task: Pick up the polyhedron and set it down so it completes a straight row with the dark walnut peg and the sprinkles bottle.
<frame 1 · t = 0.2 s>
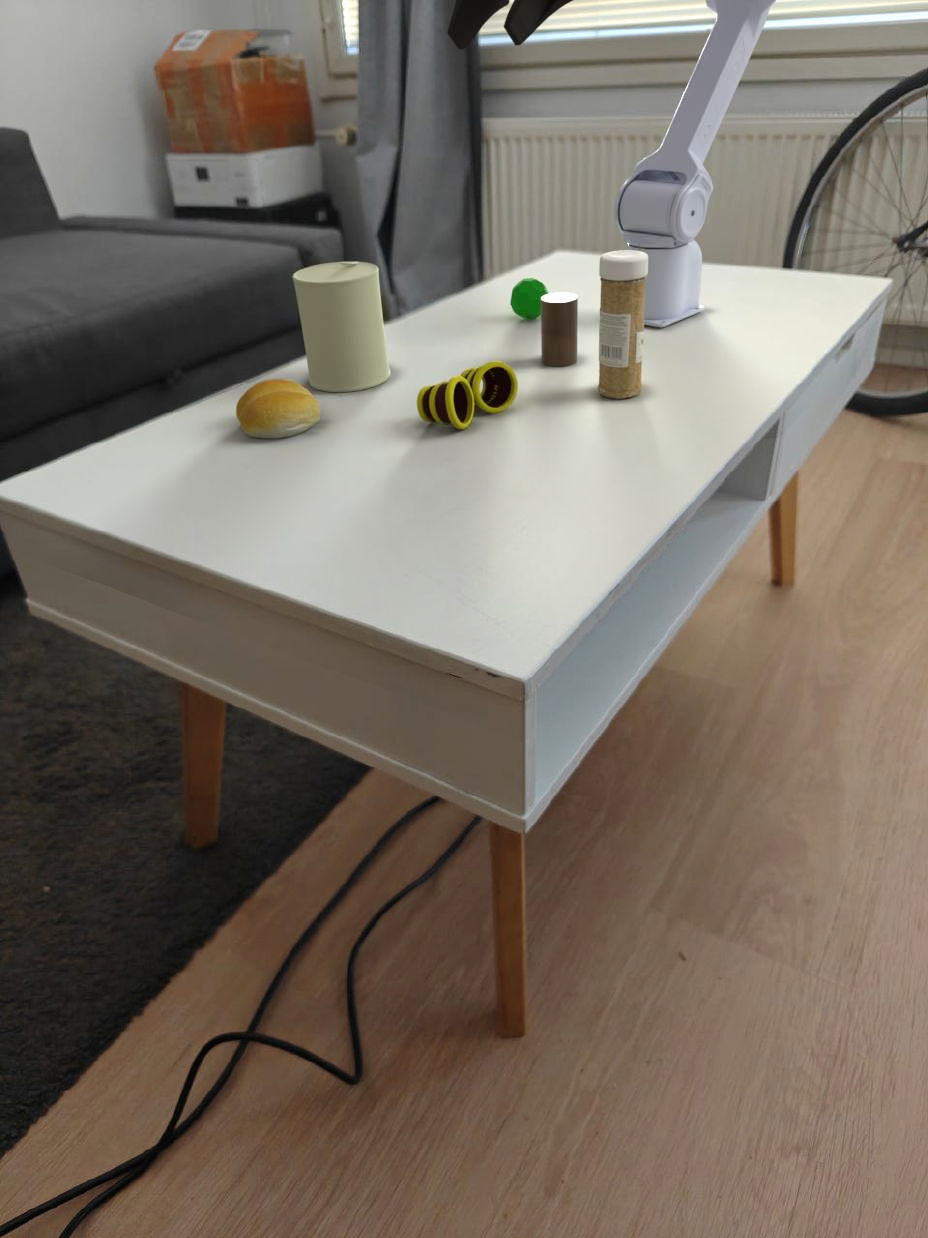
hand: (482, 38, 81), 31 cm above the table, tool tilted 45°, fingers open, 7 cm apart
bread roll: (279, 425, 90), on the table
can: (350, 379, 101), on the table
opera glasses: (467, 417, 89), on the table
walnut peg: (559, 360, 101), on the table
sprinkles bottle: (619, 393, 92), on the table
polyhedron: (530, 319, 116), on the table
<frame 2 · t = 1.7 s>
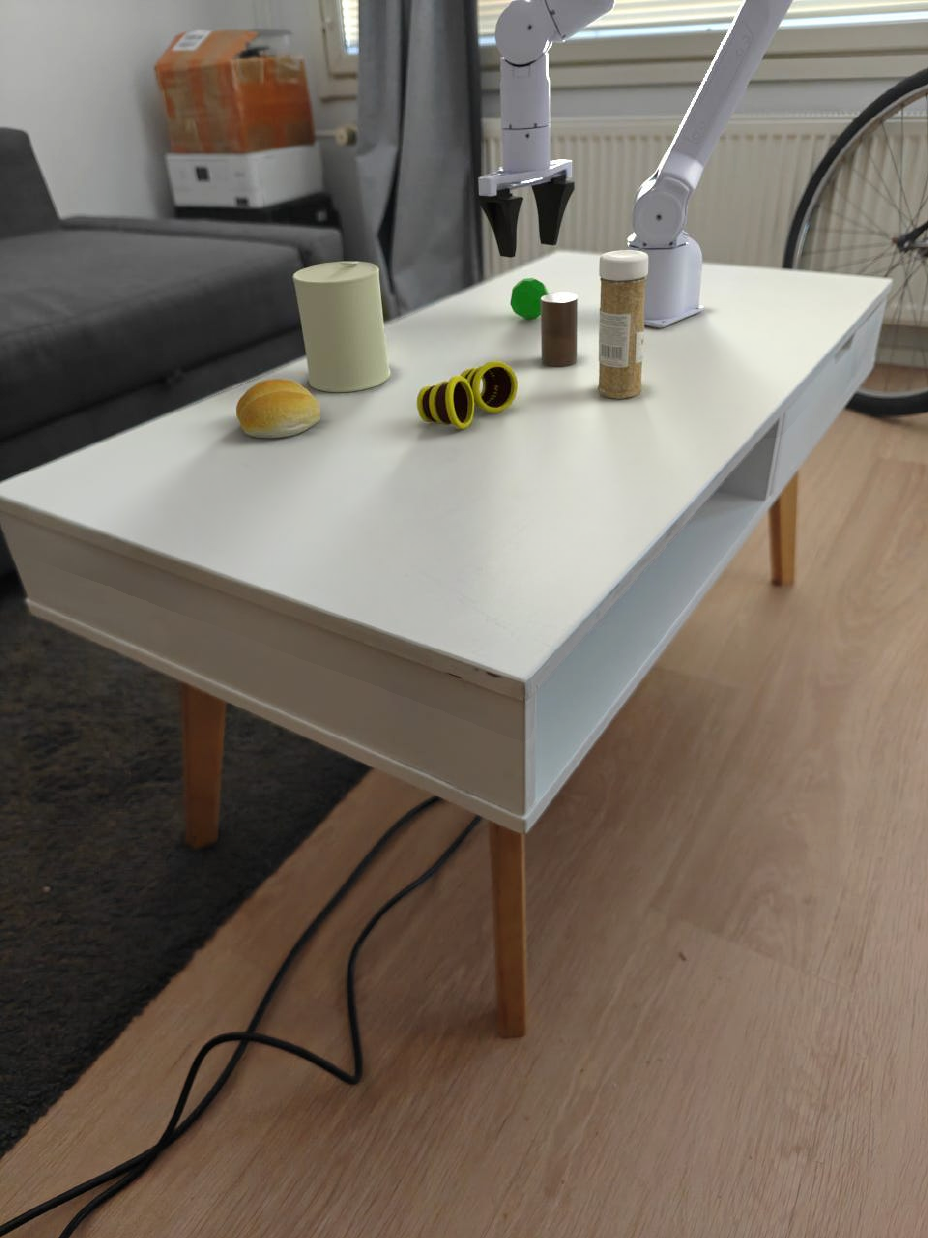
hand: (528, 250, 111), 8 cm above the table, tool pointing down, fingers open, 7 cm apart
nothing on the table moved.
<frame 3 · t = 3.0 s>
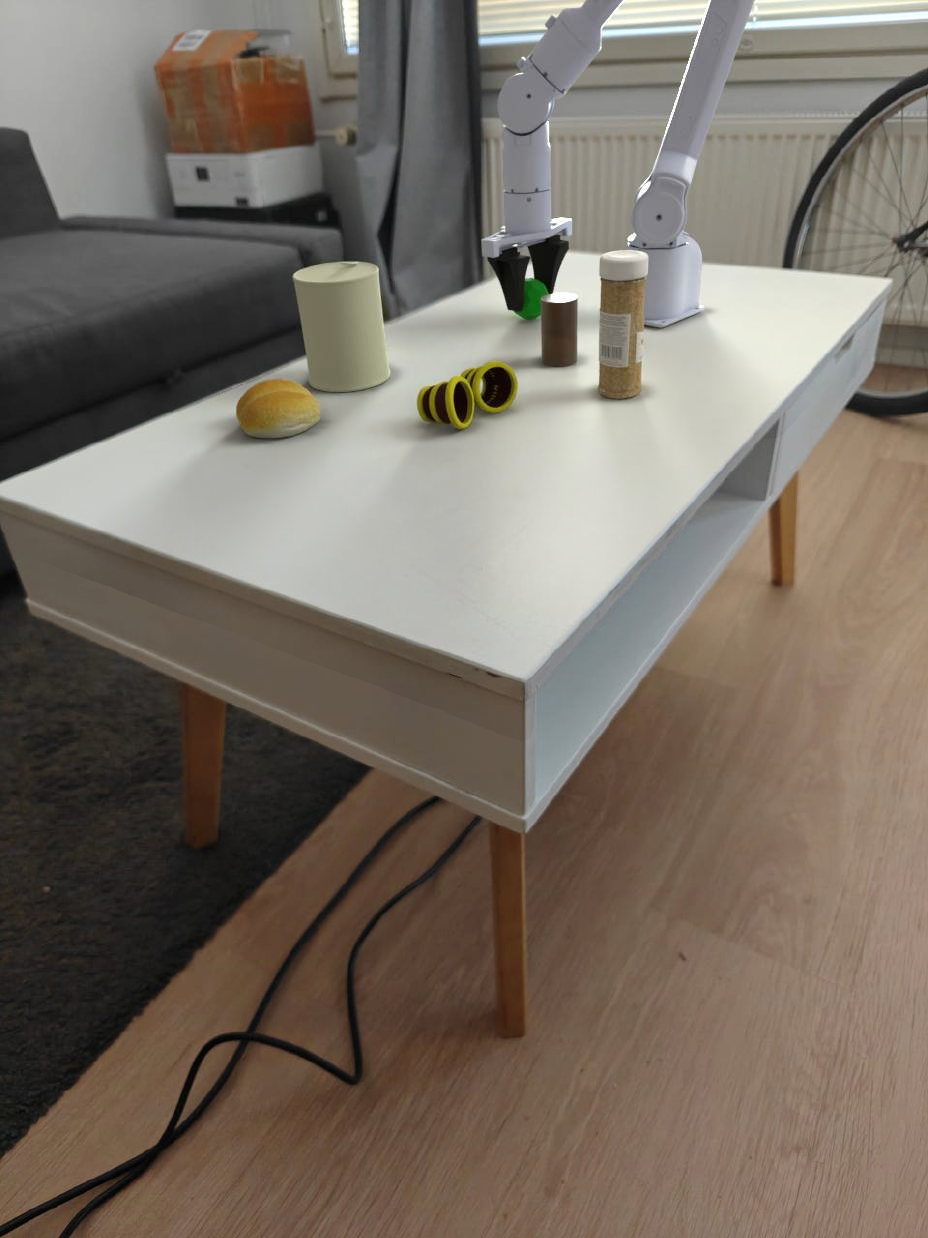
hand: (529, 305, 115), 2 cm above the table, tool pointing down, fingers closed on polyhedron, 5 cm apart
polyhedron: (529, 319, 116), on the table, touching gripper
everything else where it was.
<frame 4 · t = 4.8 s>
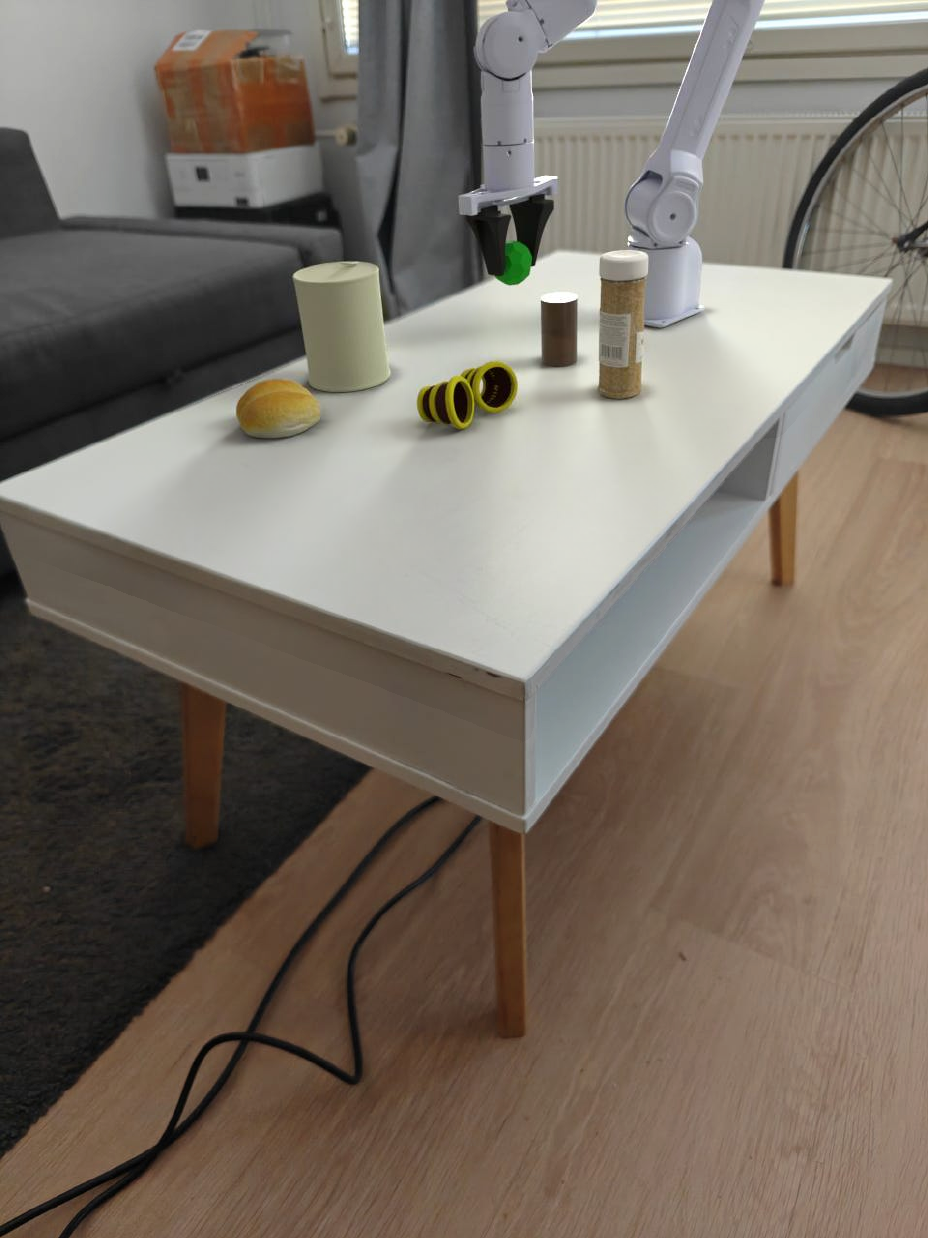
hand: (512, 269, 107), 7 cm above the table, tool pointing down, fingers closed on polyhedron, 5 cm apart
polyhedron: (512, 285, 108), point 6 cm above the table, touching gripper
everything else where it was.
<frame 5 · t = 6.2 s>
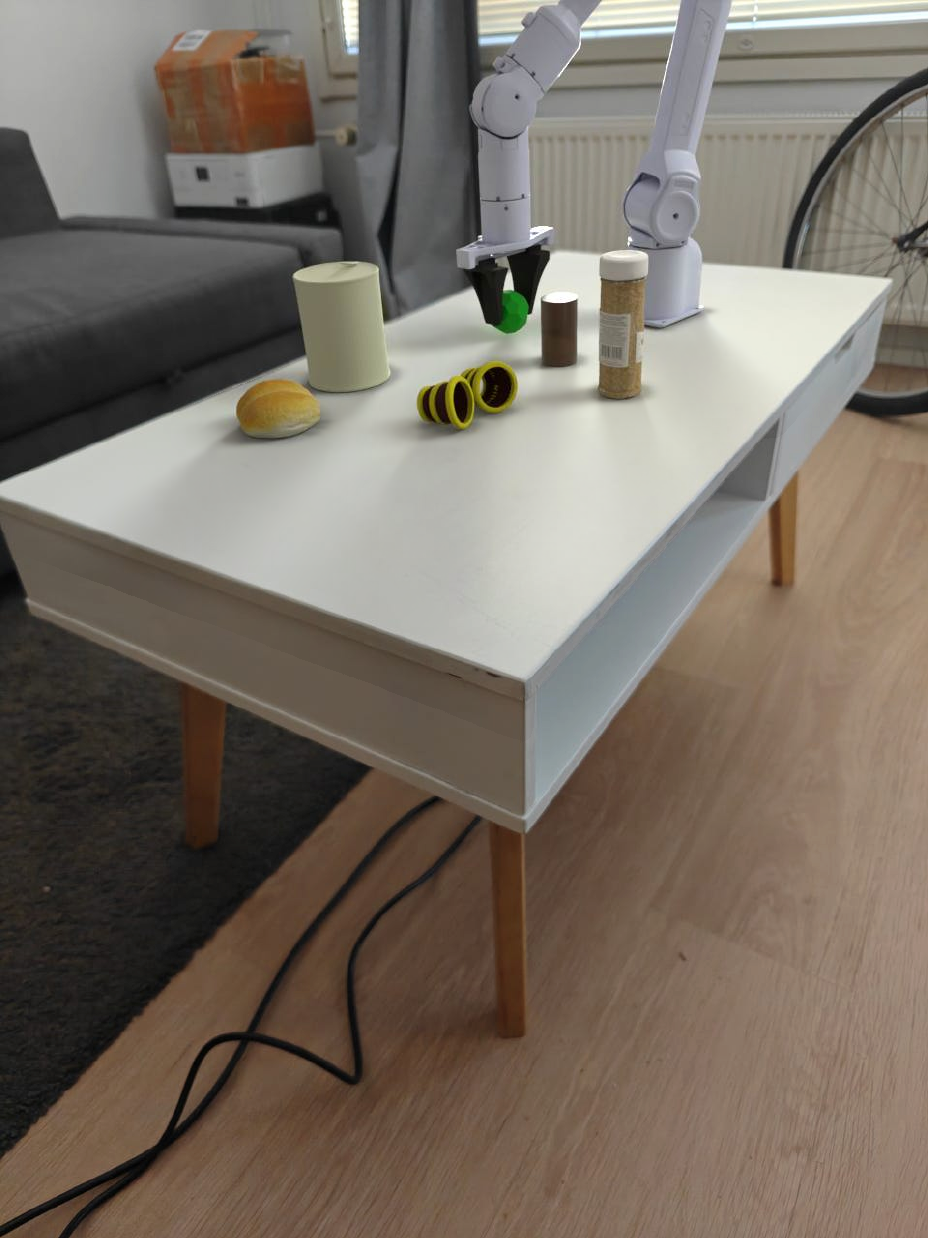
hand: (509, 318, 109), 2 cm above the table, tool pointing down, fingers closed on polyhedron, 5 cm apart
polyhedron: (509, 333, 110), on the table, touching gripper
everything else where it was.
when the fingers open (2 cm above the table, at t = 6.8 s): polyhedron stays where it is, on the table.
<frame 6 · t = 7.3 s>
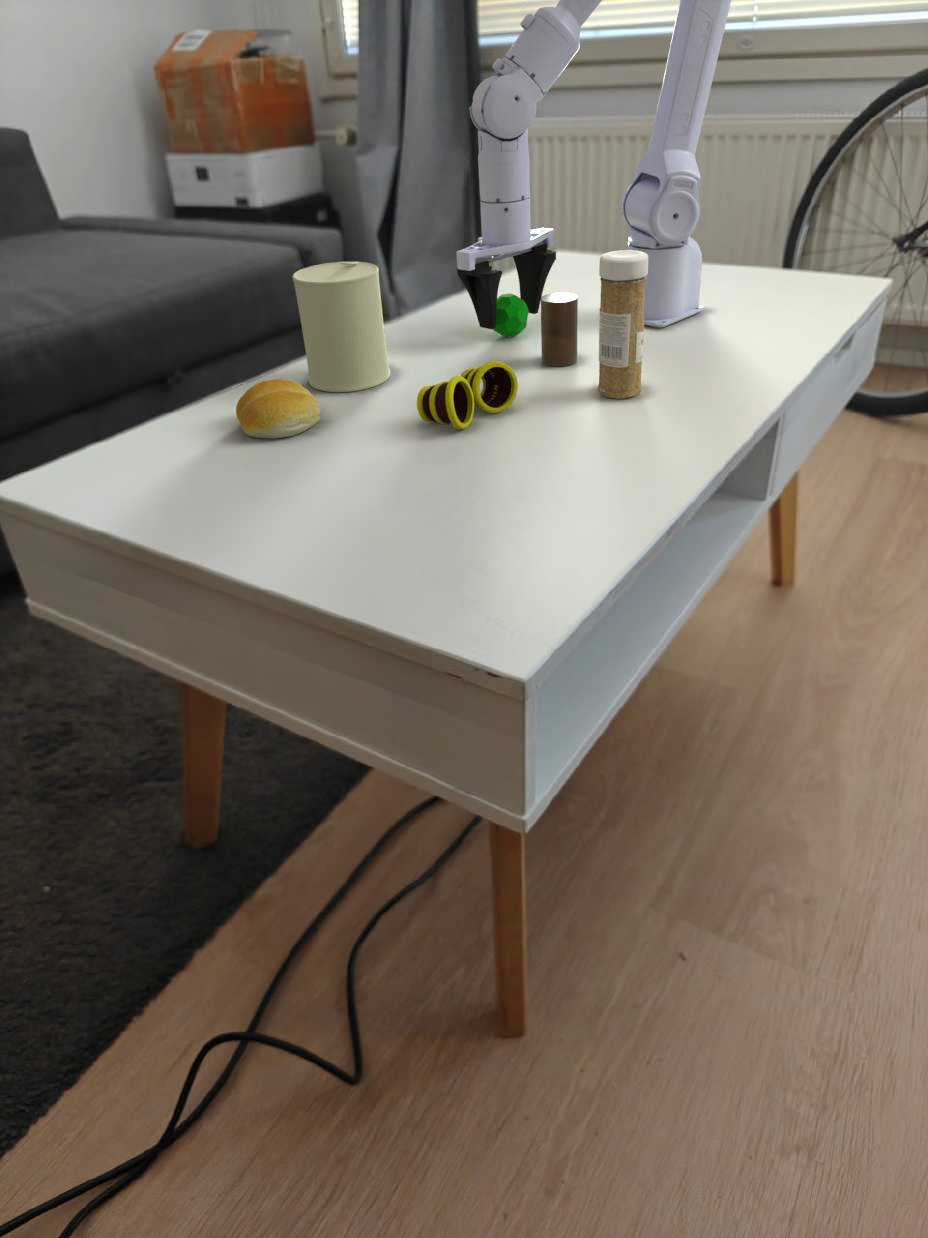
hand: (509, 319, 109), 2 cm above the table, tool pointing down, fingers open, 7 cm apart
polyhedron: (509, 336, 110), on the table
everything else where it was.
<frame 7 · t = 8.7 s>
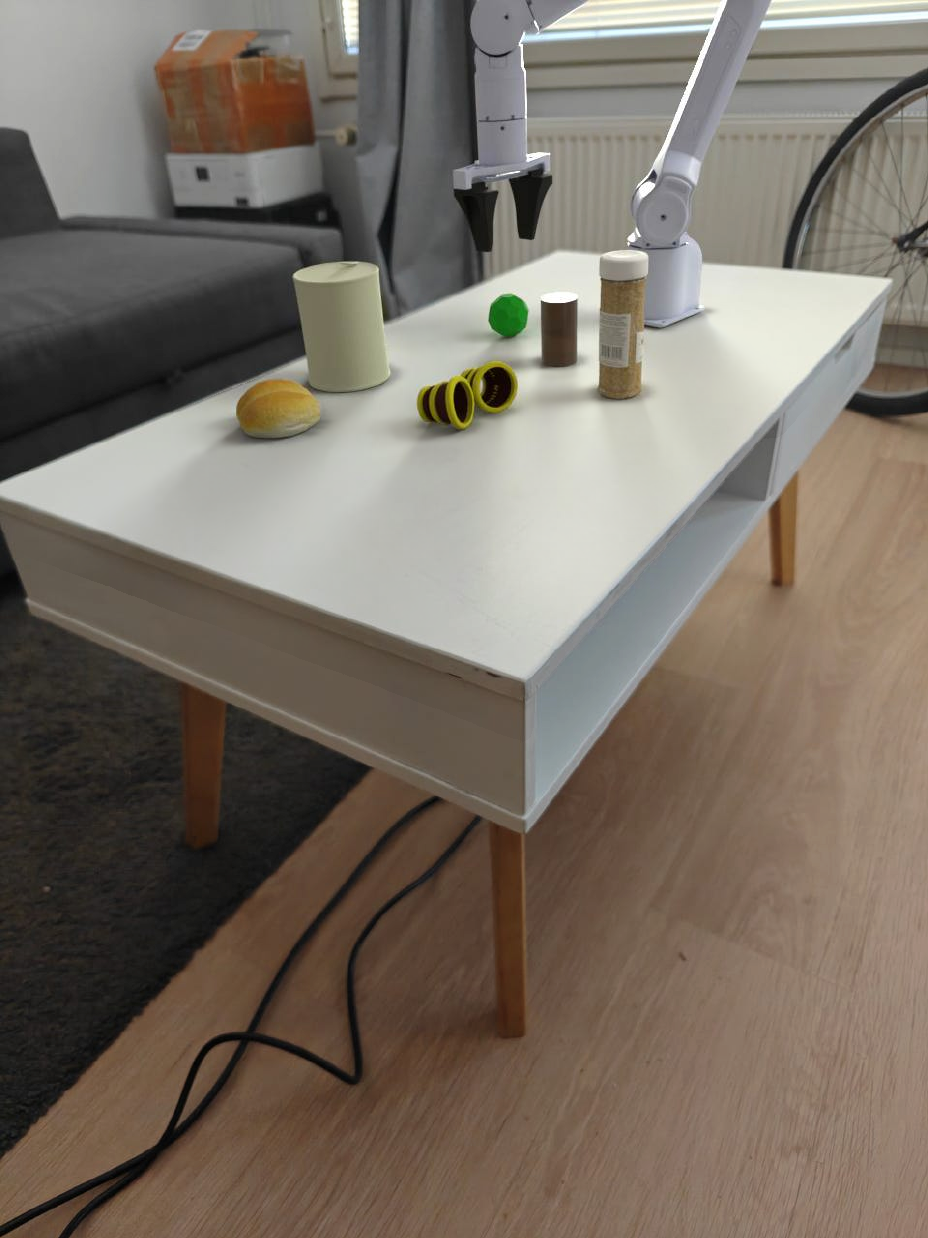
hand: (505, 244, 110), 9 cm above the table, tool pointing down, fingers open, 7 cm apart
nothing on the table moved.
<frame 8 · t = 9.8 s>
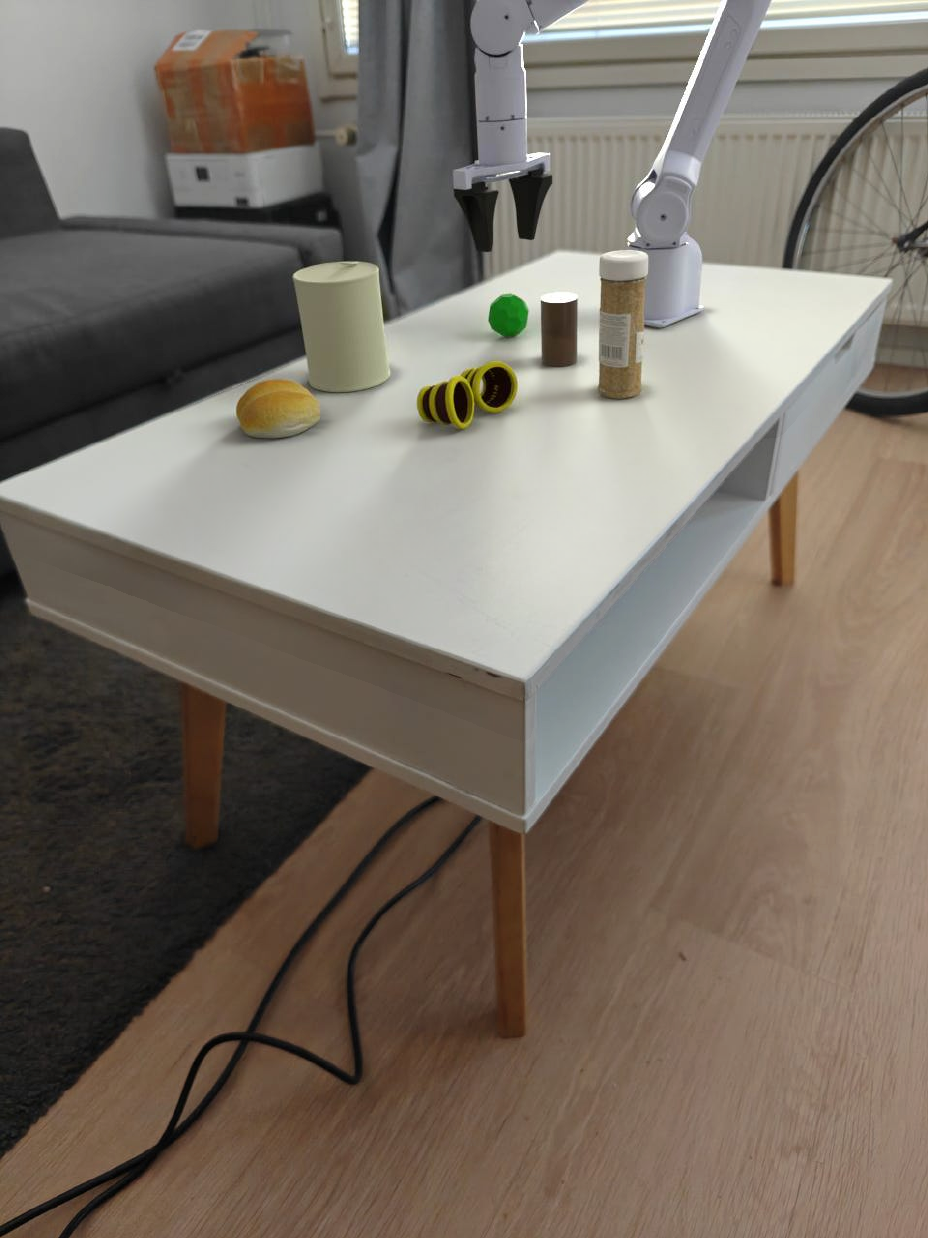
hand: (505, 244, 110), 9 cm above the table, tool pointing down, fingers open, 7 cm apart
nothing on the table moved.
at the end: polyhedron 0.1 cm from the target spot, on the table; the gripper is holding nothing; sprinkles bottle moved 0.2 cm from its start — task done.
